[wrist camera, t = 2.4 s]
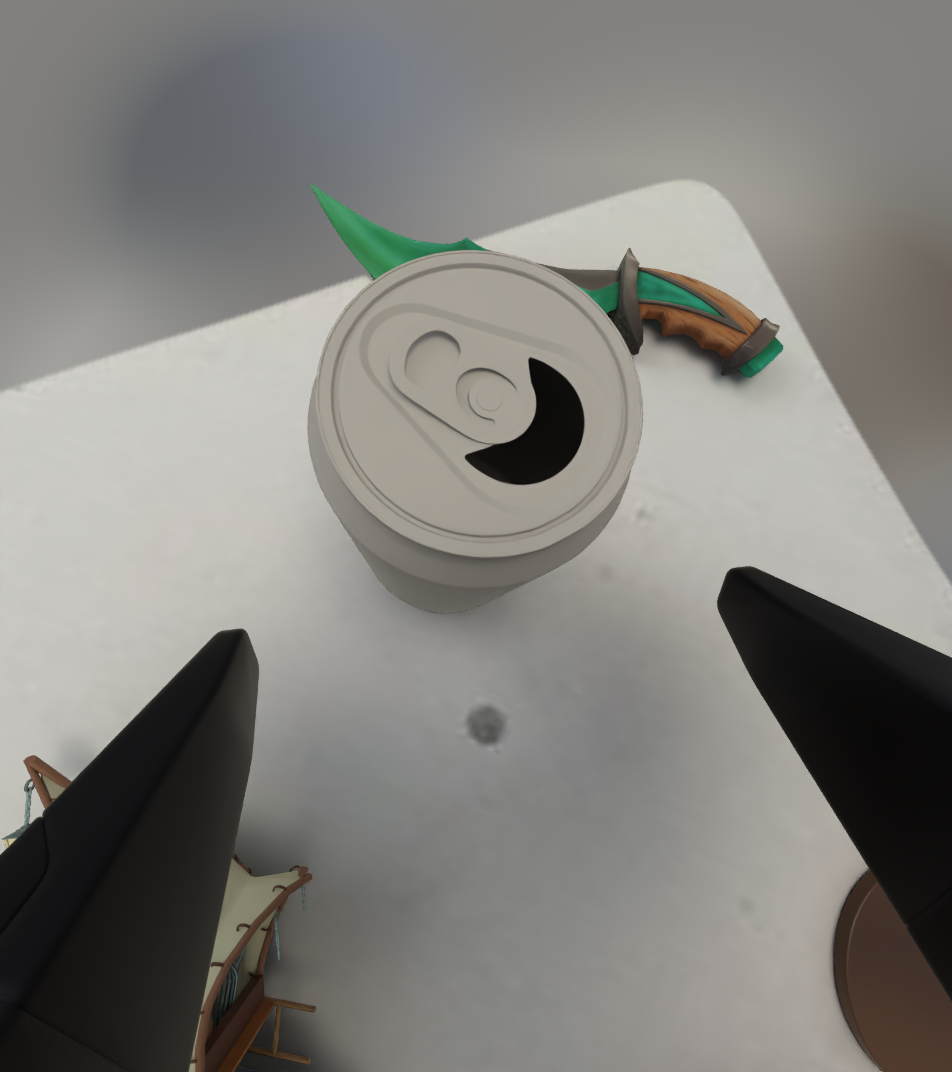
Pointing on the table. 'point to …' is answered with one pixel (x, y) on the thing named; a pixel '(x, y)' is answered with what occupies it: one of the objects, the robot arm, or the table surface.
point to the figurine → (222, 951)
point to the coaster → (889, 987)
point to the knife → (602, 293)
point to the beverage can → (472, 425)
